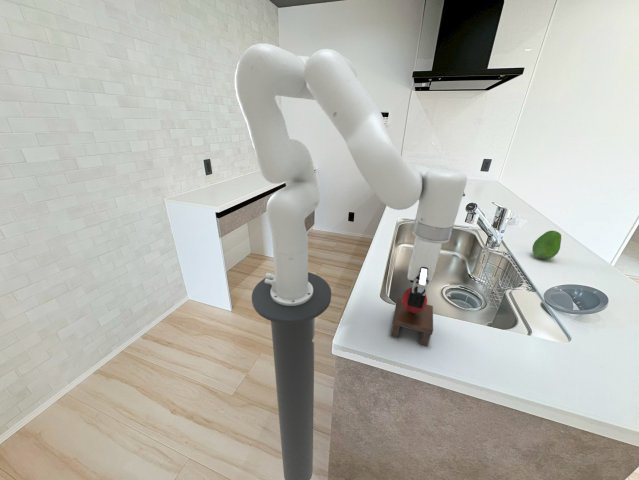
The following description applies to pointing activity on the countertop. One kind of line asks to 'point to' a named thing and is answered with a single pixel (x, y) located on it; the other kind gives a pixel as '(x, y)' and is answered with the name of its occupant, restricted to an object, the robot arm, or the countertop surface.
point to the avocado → (547, 245)
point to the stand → (413, 321)
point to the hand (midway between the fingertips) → (415, 293)
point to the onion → (410, 308)
